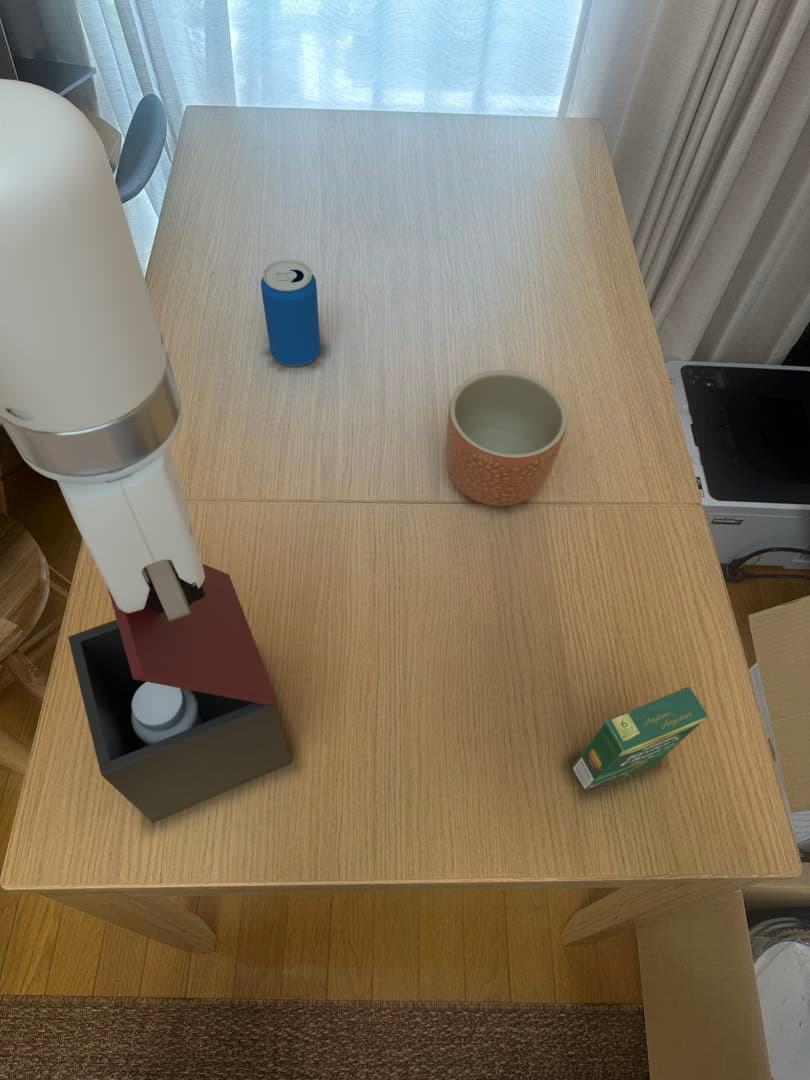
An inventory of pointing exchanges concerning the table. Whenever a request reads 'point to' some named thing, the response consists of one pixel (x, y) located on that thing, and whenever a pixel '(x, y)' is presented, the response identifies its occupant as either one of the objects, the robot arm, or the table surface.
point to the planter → (503, 436)
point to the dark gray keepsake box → (180, 760)
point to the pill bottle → (164, 712)
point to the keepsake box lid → (198, 645)
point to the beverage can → (291, 312)
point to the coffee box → (638, 739)
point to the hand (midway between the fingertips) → (178, 595)
